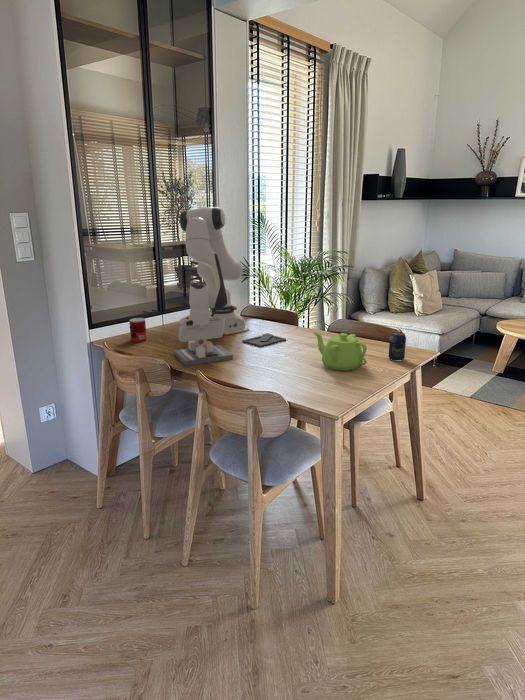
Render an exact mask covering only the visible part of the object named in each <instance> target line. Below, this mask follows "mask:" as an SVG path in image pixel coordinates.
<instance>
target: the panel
mask: <svg viewBox="0 0 525 700" xmlns="http://www.w3.org/2000/svg"><path fill="white" fill-rule="evenodd" d="M173 353H174V356H176V358H177V359H178V360H179V361H180V362H181V363H182V364H183V365H184V366H185V367H186V366H193V365H200V364H201V365H202V364H207V363H215V362H221V361H228V360H230V361H231V360H233V359H234V358H233V356H234V355H233V354H232V353H231V352H230V351H229V350H227V349H225V348H224V347H223V346H221V345H220V344H216V345H215V344H213V352H210V353H207V352H205V357H204V358H198V357H197V356H196V350H195V351H190V350H189V349H188V348H183V349H175V350H173Z"/></svg>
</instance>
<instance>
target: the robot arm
mask: <svg viewBox="0 0 525 700" xmlns="http://www.w3.org/2000/svg"><path fill="white" fill-rule="evenodd" d="M225 224H226V216H225V213H224V210H223V209H222V208H221V207H218V206H213V207H211V206H210V207H199V208H194V209H190V210H189V209H187V210H184V211H182V212H181V213H180V215H179V226H180V228H181V230H183V231H182V232H185V251H186V254H187V255H188V256H189V257H190V259H192V260H193V261H195V262H198V264H197V266H196V272H197V274H198V276H199V277H200V278H201V279H202V280H203V281H204V282H202V281H196V282H192V283H191V284H190V285H189V290H188V291H187V292H186V300H187V301H186V302H187V303H186V305H187V306H189V307H190V309H189V310H190V311H189V315H187V316H184V317H183V318H180V319H179V323H180V325H179V326H178V330H177V337H178V338H177V339H178V341H179V342H181V343H186V342H187V343H188V341H195V342H196V344H197V347H200V346H203V347H204V348H205V344H206V342H207V341H208V340H212V339H219V338H222V337H223V335H226V336H227V335H232V334H233V335H234V334H238V333H245V332H248V331H250V327H249V326H248V325H246V323H245V322H246V321H245V319H244V318H243V317H242V316H241V315H240V314H238V313H237V312H235V311H237V309H238V306H236V305H232V304H231V303H232V302H231V299H232V297H231V290H230V289H229V288H228V287H226V286H225V282H224V281H236V280H237V281H238V280H240V278H241V277H242V275H243V271H244V269H243V266H242V264H241V262H239V260H237V259H235V258H234V257H233V256H232V254H230V252H229V251H228V248H227V246H226V244H225V240H224V236H223V231H222V229H223V227H225ZM200 341H202V343H201V344H200Z"/></svg>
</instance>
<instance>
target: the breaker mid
mask: <svg viewBox="0 0 525 700" xmlns="http://www.w3.org/2000/svg"><path fill="white" fill-rule="evenodd" d="M213 345H214V343H213V342H211V341H209V340H207V342H206V344H205V352H207V353H210V352H213Z"/></svg>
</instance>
